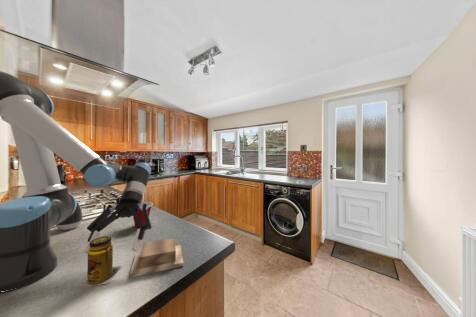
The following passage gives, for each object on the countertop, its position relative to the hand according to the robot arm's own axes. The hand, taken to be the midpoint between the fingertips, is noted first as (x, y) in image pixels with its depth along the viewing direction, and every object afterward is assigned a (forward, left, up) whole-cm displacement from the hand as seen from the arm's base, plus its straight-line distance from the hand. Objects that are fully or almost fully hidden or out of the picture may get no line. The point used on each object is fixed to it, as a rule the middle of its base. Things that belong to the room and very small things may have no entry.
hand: (111, 251), depth 55 cm
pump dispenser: (-30, +48, -7) cm, 57 cm away
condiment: (-2, -1, -7) cm, 7 cm away
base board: (+14, +1, -7) cm, 16 cm away
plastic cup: (+4, +39, -7) cm, 40 cm away
